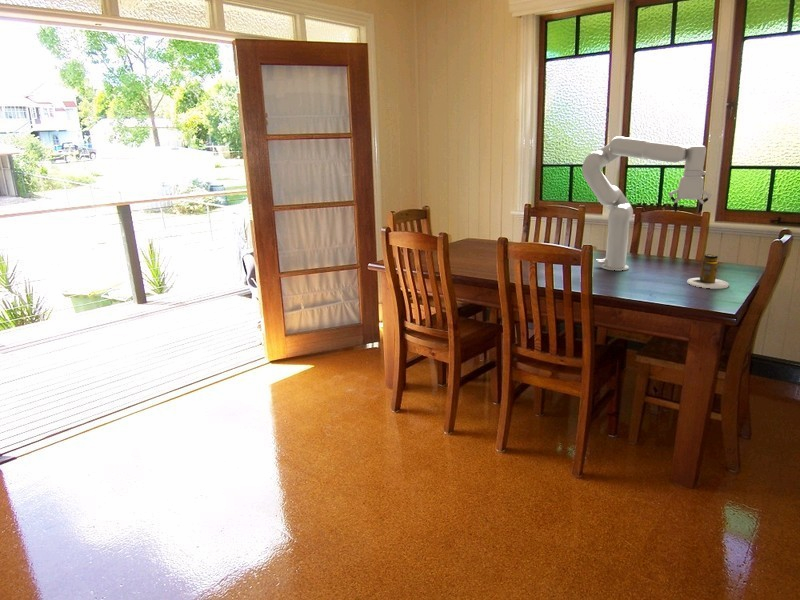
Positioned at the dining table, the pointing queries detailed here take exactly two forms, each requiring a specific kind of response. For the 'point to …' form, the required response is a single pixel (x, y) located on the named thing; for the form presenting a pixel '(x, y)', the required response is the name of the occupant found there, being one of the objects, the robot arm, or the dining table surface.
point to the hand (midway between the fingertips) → (687, 211)
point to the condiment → (708, 270)
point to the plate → (719, 285)
